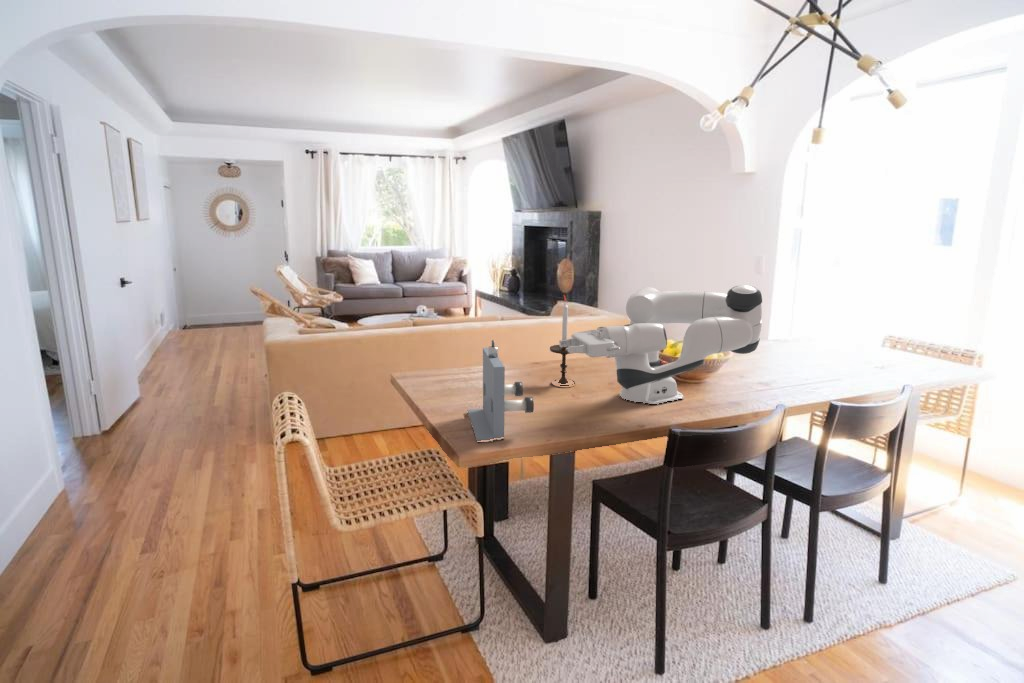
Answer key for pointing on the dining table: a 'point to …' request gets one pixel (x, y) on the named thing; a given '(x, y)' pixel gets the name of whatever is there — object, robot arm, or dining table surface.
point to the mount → (490, 401)
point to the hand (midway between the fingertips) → (563, 346)
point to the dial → (492, 351)
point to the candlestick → (563, 349)
